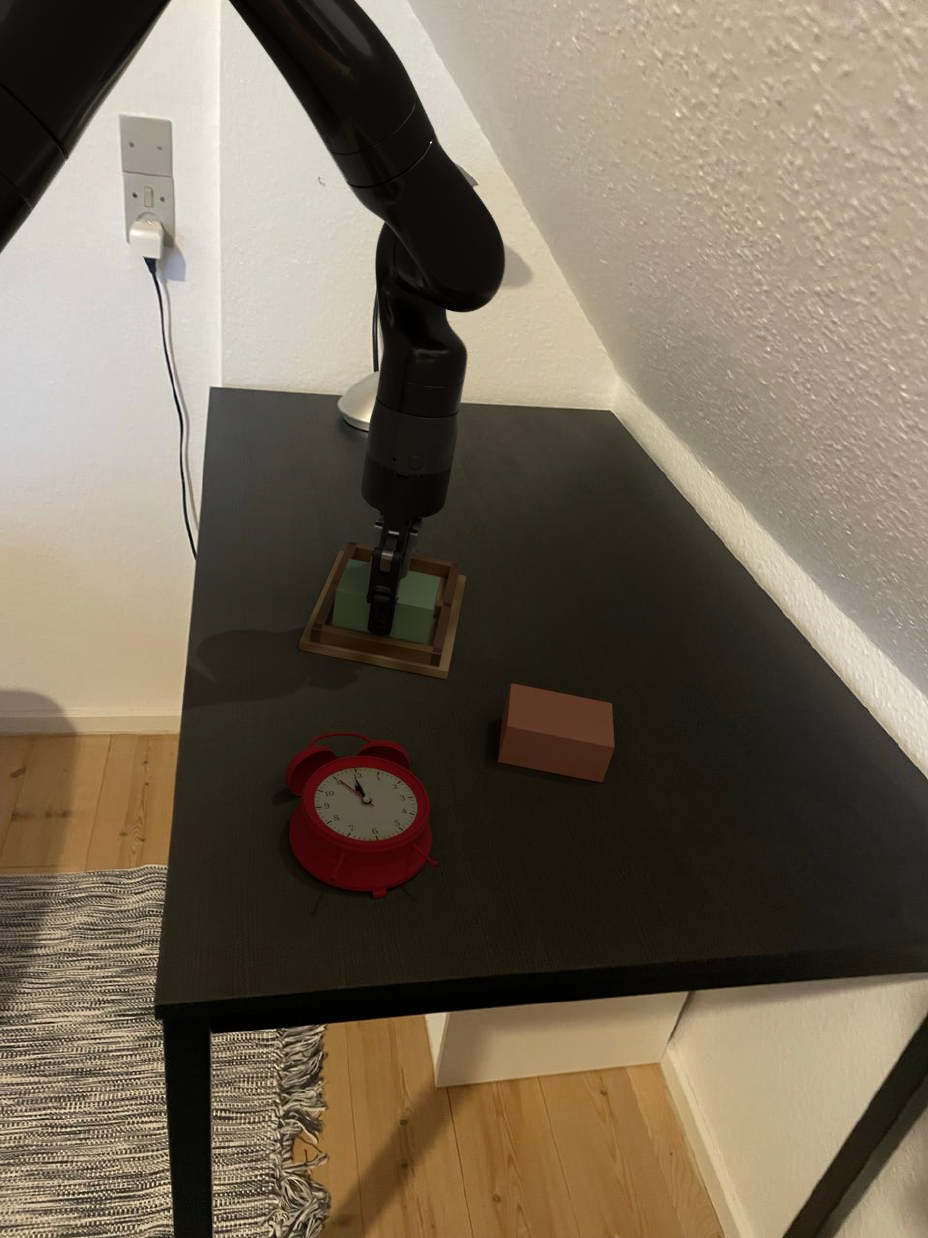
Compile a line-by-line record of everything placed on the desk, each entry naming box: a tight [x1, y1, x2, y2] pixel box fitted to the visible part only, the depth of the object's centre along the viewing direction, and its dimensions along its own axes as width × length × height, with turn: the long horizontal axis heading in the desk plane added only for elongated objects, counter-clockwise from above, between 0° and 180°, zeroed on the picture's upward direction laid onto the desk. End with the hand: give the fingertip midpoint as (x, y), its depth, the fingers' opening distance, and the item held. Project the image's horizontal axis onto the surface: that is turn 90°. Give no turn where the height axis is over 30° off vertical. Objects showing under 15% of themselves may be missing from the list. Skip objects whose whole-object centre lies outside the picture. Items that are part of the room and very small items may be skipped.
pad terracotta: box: [497, 682, 615, 783], centre depth 81 cm, size 9×6×4 cm, turn 84°
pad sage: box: [332, 559, 441, 645], centre depth 89 cm, size 9×6×4 cm, turn 84°
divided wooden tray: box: [298, 540, 467, 680], centre depth 94 cm, size 14×18×2 cm
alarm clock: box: [285, 731, 439, 900], centre depth 70 cm, size 10×6×15 cm
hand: (384, 613), depth 90 cm, fingers closed on pad sage, 6 cm apart
